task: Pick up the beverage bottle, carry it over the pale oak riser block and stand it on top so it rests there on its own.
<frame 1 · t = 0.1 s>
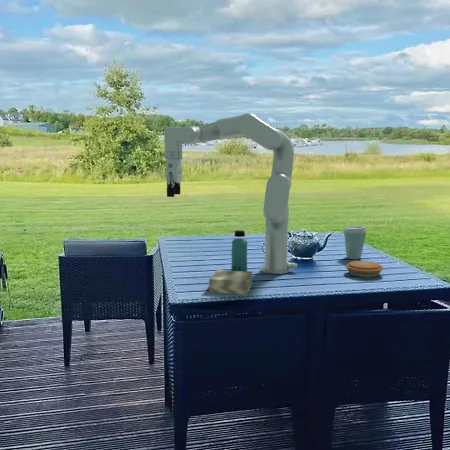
hand: (173, 195, 241), 31 cm above the table, tool pointing down, fingers open, 9 cm apart
beverage bottle: (239, 279, 224), on the table
pie: (363, 275, 234), on the table
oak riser: (231, 288, 212), on the table
disposable coffee cup: (353, 258, 264), on the table
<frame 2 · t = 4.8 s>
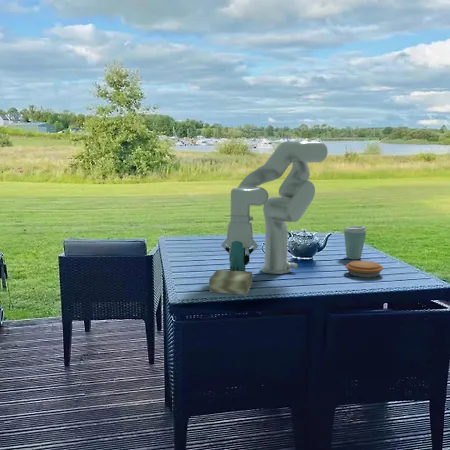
hand: (239, 263, 223), 7 cm above the table, tool pointing down, fingers open, 5 cm apart
nothing on the table moved.
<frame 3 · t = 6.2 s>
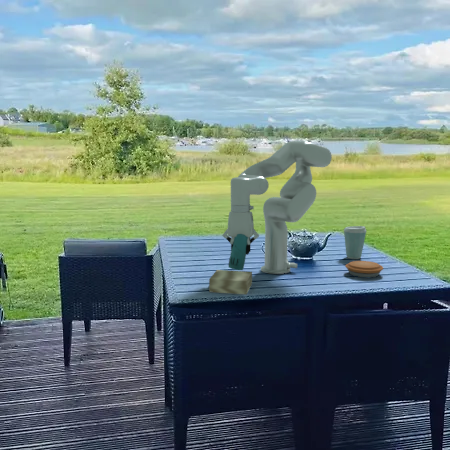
hand: (240, 253, 223), 11 cm above the table, tool pointing down, fingers closed on beverage bottle, 4 cm apart
beverage bottle: (234, 272, 224), point 3 cm above the table, touching gripper
everything else where it was.
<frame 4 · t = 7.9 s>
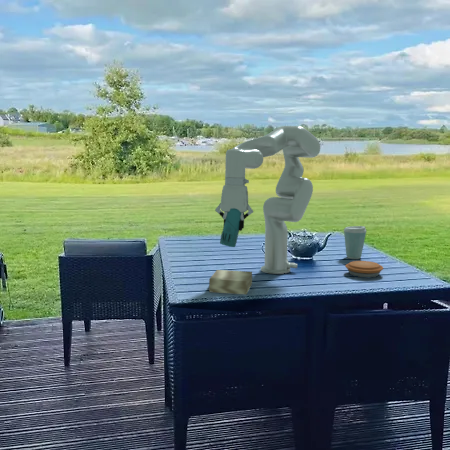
hand: (233, 229, 212), 22 cm above the table, tool pointing down, fingers closed on beverage bottle, 4 cm apart
beverage bottle: (226, 249, 213), point 14 cm above the table, touching gripper
everything else where it was.
when the fingers open (13 cm above the table, at t = 9.8 s): beverage bottle stays where it is, resting on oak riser.
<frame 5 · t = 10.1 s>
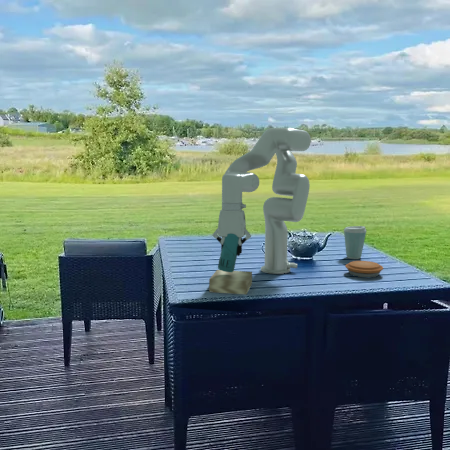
hand: (231, 254, 210), 13 cm above the table, tool pointing down, fingers open, 4 cm apart
beverage bottle: (224, 274, 211), point 5 cm above the table, touching gripper, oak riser
everything else where it was.
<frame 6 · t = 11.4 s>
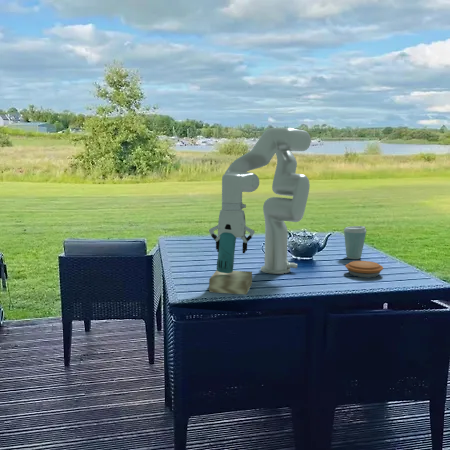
hand: (231, 251, 210), 14 cm above the table, tool pointing down, fingers open, 9 cm apart
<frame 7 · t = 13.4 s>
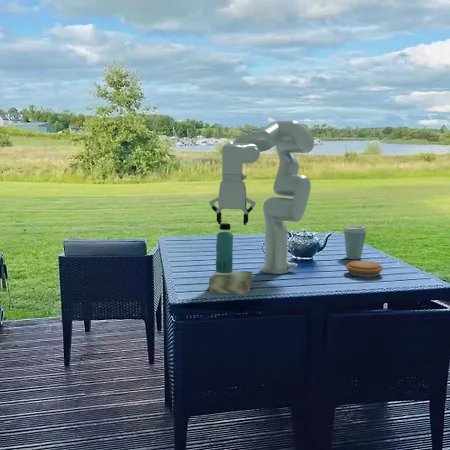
hand: (232, 224, 208), 25 cm above the table, tool pointing down, fingers open, 9 cm apart
beverage bottle: (223, 275, 211), point 5 cm above the table, touching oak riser
everything else where it was.
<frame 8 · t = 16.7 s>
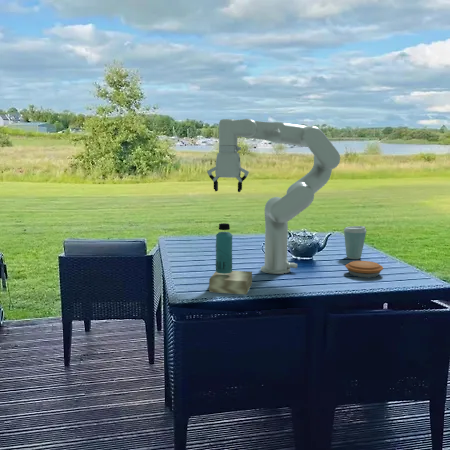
hand: (227, 191, 231), 34 cm above the table, tool pointing down, fingers open, 9 cm apart
nothing on the table moved.
at the end: beverage bottle inside the target area on the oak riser (2.8 cm from its centre), point 4.8 cm above the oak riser's base; beverage bottle tilted 0°; the gripper is holding nothing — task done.
